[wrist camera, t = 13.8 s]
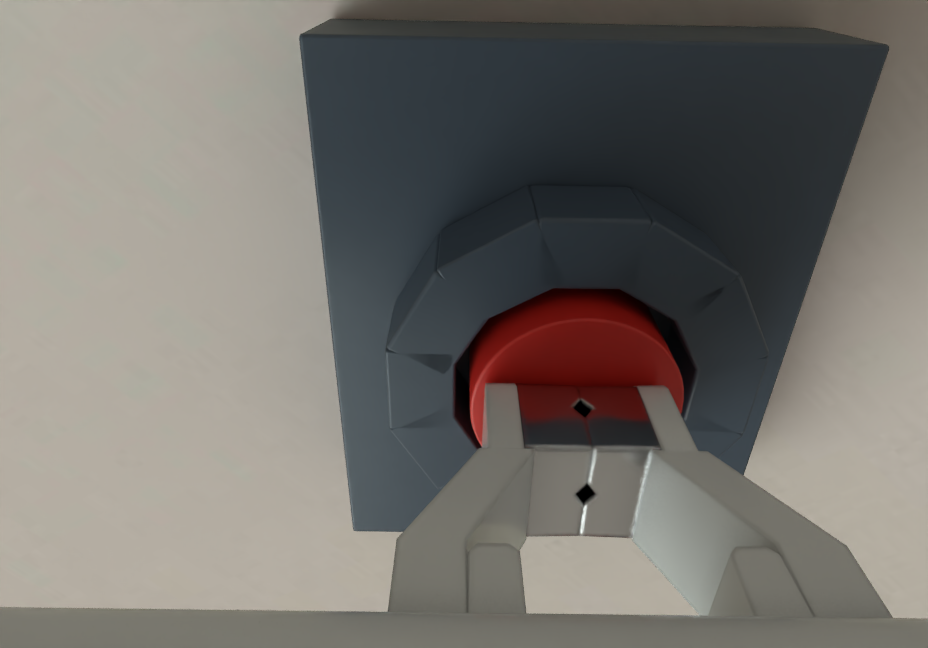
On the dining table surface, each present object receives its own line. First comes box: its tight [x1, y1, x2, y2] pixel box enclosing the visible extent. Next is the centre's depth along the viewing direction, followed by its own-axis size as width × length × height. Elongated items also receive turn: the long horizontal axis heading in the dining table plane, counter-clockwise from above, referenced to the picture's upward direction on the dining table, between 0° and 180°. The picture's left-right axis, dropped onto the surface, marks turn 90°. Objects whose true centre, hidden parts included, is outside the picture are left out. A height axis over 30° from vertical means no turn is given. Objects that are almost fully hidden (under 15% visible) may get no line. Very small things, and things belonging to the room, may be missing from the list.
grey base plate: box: [299, 19, 889, 532], centre depth 13 cm, size 11×9×4 cm
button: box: [469, 288, 684, 446], centre depth 11 cm, size 4×4×2 cm
